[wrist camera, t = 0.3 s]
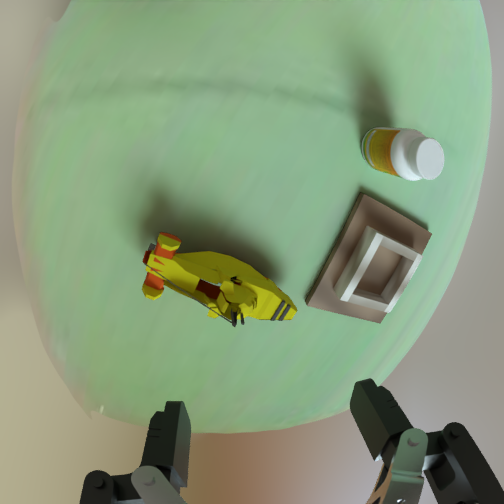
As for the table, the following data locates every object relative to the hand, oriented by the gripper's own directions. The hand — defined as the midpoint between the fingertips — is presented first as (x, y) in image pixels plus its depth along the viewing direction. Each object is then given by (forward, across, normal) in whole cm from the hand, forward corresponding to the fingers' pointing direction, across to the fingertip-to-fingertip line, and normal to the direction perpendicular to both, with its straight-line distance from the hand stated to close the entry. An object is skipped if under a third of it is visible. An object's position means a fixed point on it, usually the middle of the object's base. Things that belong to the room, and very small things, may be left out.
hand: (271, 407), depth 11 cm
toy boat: (+23, +3, +2) cm, 23 cm away
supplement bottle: (+21, -17, -13) cm, 30 cm away
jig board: (+23, -18, +3) cm, 29 cm away
